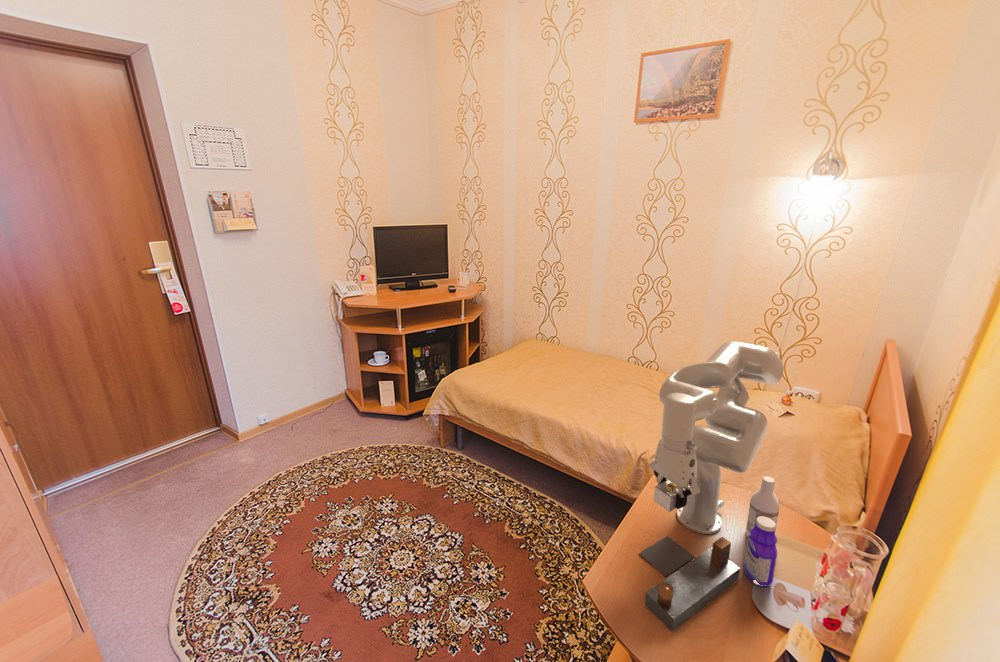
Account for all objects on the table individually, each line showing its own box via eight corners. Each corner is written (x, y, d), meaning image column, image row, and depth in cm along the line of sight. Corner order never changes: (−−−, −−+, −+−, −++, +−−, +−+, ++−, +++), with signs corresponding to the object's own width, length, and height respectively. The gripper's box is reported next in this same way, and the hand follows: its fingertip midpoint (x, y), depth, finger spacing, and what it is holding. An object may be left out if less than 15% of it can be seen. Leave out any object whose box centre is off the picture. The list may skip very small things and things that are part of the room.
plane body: (709, 559, 113) (713, 529, 110) (738, 580, 106) (743, 549, 103) (644, 605, 100) (646, 573, 98) (672, 632, 94) (675, 598, 91)
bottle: (739, 564, 111) (747, 511, 106) (761, 566, 110) (770, 512, 105) (752, 588, 104) (761, 532, 99) (776, 589, 103) (786, 533, 98)
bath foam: (758, 549, 115) (768, 489, 110) (739, 531, 122) (748, 474, 116) (779, 544, 117) (790, 484, 111) (759, 527, 123) (768, 469, 118)
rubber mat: (667, 537, 121) (667, 535, 121) (694, 557, 113) (694, 556, 113) (639, 554, 115) (639, 553, 115) (665, 577, 108) (665, 575, 108)
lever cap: (673, 490, 113) (674, 474, 112) (689, 500, 109) (690, 484, 108) (653, 501, 110) (654, 484, 108) (669, 512, 105) (670, 495, 104)
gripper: (717, 451, 99) (709, 514, 104) (659, 423, 113) (654, 479, 118) (697, 461, 95) (690, 526, 100) (640, 431, 110) (636, 488, 115)
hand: (671, 500), depth 109 cm, fingers closed on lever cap, 5 cm apart
